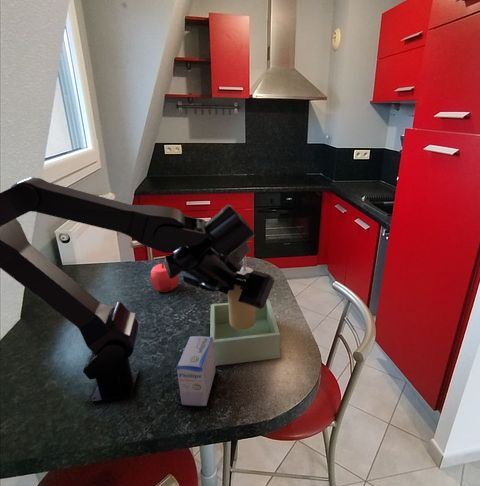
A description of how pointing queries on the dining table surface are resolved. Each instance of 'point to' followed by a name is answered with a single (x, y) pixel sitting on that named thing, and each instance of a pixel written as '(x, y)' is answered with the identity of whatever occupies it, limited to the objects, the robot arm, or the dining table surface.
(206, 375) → the medicine box
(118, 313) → the robot arm
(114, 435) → the dining table surface
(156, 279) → the apple
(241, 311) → the straw cup
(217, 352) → the bin
